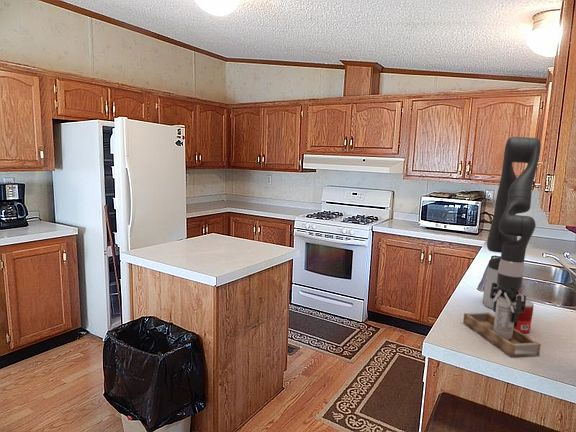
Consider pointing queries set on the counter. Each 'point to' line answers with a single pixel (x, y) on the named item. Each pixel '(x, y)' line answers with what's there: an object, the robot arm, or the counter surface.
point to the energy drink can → (503, 319)
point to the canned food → (525, 318)
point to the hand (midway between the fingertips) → (504, 317)
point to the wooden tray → (513, 348)
